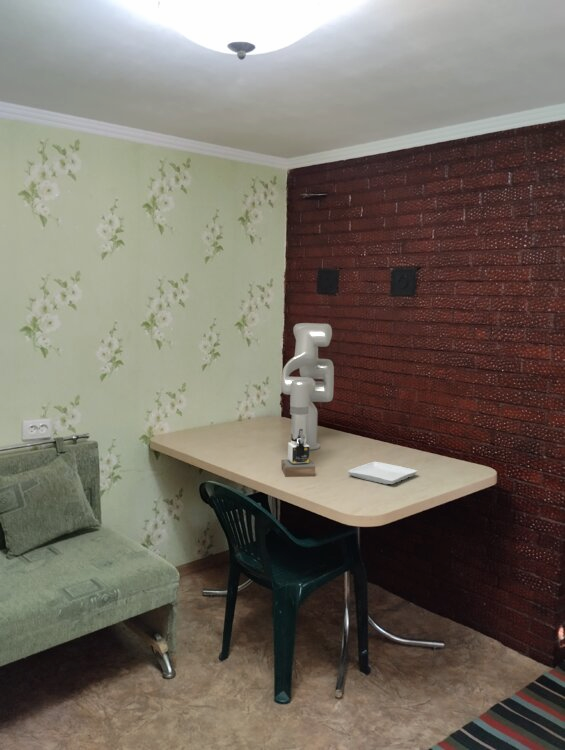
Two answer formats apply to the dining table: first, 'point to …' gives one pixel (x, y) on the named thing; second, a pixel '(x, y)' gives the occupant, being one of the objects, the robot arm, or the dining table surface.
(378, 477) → the salad plate
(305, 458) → the medicine bottle
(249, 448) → the dining table surface
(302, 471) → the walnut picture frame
